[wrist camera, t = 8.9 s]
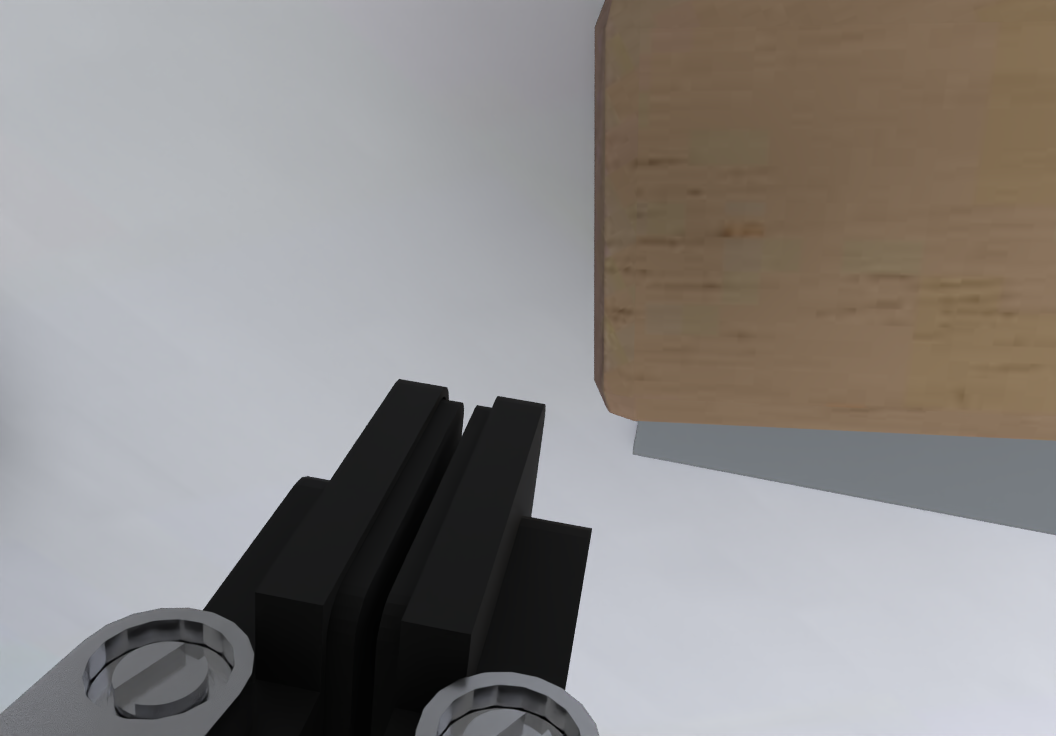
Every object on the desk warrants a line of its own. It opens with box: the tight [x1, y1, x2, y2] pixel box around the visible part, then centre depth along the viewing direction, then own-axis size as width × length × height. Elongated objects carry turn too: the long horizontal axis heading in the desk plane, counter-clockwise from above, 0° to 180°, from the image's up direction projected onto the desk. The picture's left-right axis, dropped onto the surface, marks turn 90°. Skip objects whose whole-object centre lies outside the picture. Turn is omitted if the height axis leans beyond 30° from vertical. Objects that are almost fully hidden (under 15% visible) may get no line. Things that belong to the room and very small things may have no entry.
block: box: [594, 0, 1056, 441], centre depth 24 cm, size 10×10×20 cm
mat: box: [633, 421, 1056, 535], centre depth 29 cm, size 18×22×1 cm
